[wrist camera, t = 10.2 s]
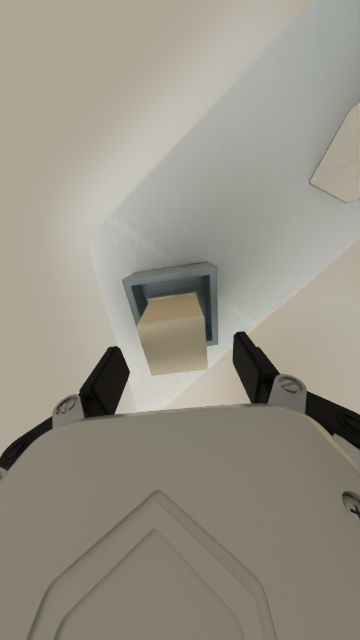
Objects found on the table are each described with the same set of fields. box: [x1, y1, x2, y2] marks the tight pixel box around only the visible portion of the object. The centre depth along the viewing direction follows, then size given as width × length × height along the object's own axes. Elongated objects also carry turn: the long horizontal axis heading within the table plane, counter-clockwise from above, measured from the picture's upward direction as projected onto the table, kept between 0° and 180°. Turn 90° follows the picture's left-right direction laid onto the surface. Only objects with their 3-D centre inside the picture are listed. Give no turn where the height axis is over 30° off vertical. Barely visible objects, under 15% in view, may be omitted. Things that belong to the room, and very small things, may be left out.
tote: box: [122, 262, 218, 346], centre depth 21 cm, size 11×11×6 cm
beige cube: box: [136, 294, 208, 375], centre depth 15 cm, size 6×6×6 cm
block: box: [147, 283, 198, 303], centre depth 21 cm, size 6×6×5 cm
